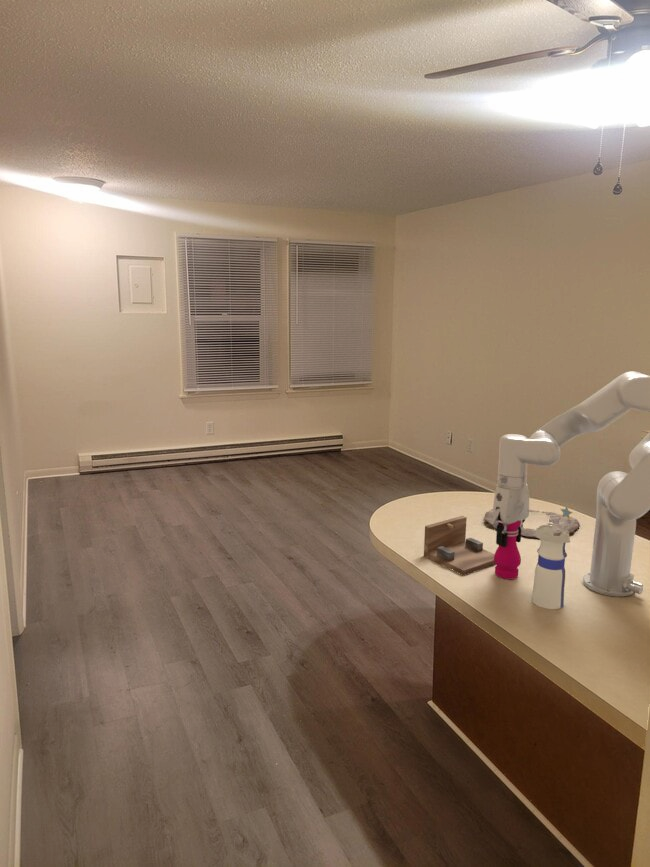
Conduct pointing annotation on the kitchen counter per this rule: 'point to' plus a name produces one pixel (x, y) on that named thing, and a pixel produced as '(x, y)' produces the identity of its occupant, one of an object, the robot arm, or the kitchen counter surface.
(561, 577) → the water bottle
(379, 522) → the kitchen counter surface
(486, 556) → the pegged stand
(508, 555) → the pepper mill
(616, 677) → the kitchen counter surface
